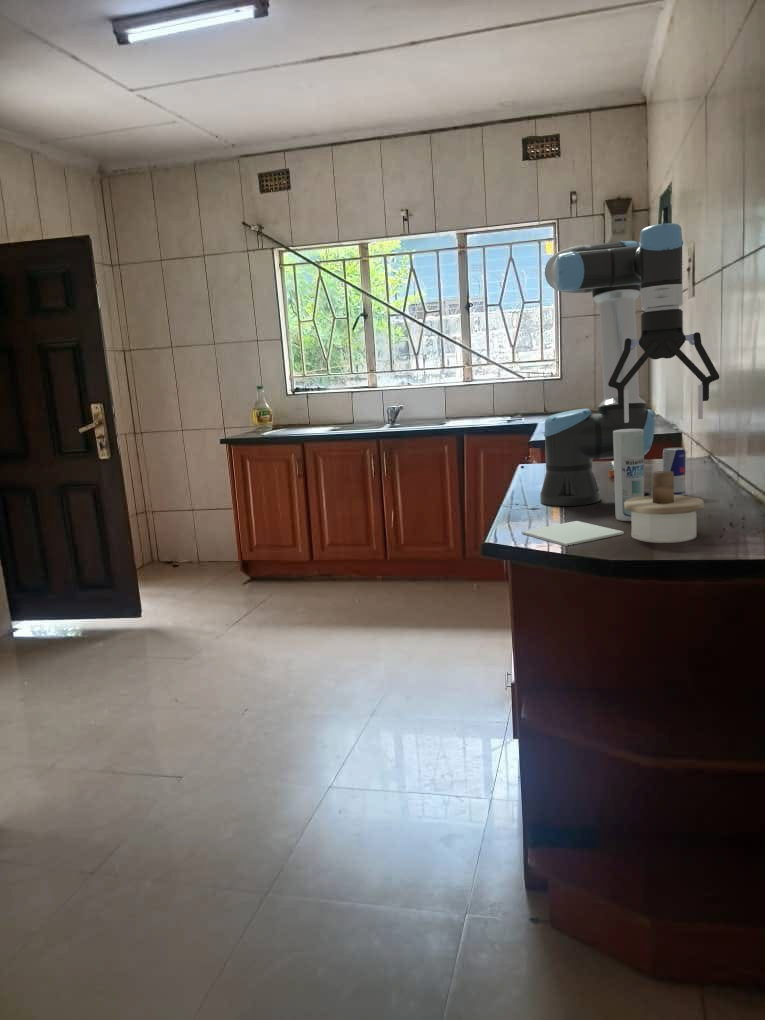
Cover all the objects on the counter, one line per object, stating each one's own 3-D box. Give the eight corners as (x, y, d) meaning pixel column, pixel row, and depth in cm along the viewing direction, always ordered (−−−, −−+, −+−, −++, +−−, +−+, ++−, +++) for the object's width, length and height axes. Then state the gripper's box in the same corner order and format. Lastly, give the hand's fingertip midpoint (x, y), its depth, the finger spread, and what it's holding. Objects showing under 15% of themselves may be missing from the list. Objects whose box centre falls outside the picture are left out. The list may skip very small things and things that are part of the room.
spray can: (634, 513, 174) (632, 428, 170) (651, 518, 168) (649, 429, 164) (609, 517, 172) (607, 430, 169) (625, 522, 166) (623, 432, 163)
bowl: (618, 535, 155) (617, 507, 154) (663, 525, 160) (663, 498, 159) (663, 546, 144) (663, 515, 143) (710, 535, 149) (710, 506, 148)
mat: (522, 533, 164) (521, 531, 163) (576, 522, 170) (576, 520, 170) (566, 546, 150) (566, 543, 150) (623, 533, 156) (623, 531, 156)
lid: (608, 507, 155) (607, 473, 153) (662, 496, 161) (662, 464, 159) (663, 517, 141) (663, 481, 140) (720, 506, 147) (720, 471, 146)
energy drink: (687, 496, 188) (687, 449, 186) (665, 497, 189) (664, 450, 187) (683, 493, 194) (682, 446, 191) (661, 494, 195) (660, 448, 192)
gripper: (592, 315, 145) (595, 425, 148) (734, 301, 136) (734, 418, 140) (595, 317, 152) (598, 421, 155) (731, 303, 143) (730, 415, 147)
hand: (662, 420), depth 148 cm, fingers open, 13 cm apart
